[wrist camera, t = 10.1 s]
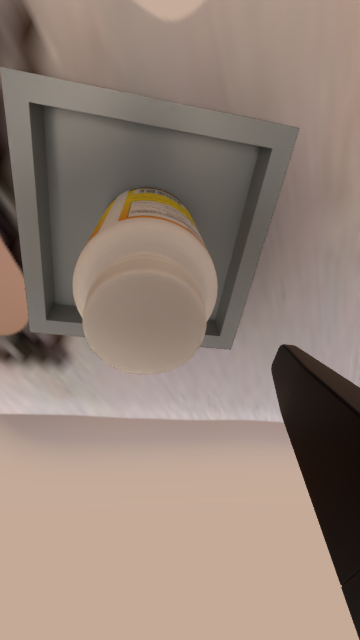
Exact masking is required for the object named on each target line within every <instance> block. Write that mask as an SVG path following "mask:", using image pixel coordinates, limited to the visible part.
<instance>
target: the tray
mask: <svg viewBox="0 0 360 640" xmlns="http://www.w3.org/2000/svg"><path fill="white" fill-rule="evenodd" d="M0 71H1V80H2V89H3V98H4V106H5V115H6V124H7V133H8V142H9V150H10V159H11V168H12V177H13V185H14V194H15V203H16V212H17V221H18V229H19V238H20V247H21V256H22V264H23V273H24V282H25V290H26V299H27V308H28V317H29V326H30V332H35V333H46V334H58V335H69V336H80V337H85V335H84V331H83V324H82V317H81V315H80V313H79V311H78V309H77V307H76V304H75V300H74V296H73V274H74V270H75V266H76V264H77V261H78V258H79V256H80V254H81V252H82V250H83V249H84V247H85V245H86V243H87V242H88V240H89V238H90V236H91V235H92V233H93V231H94V229H95V228H96V226H97V224H98V222H99V221H100V219H101V217H102V216H103V214H104V212H105V210H106V209H107V207H108V206H109V204H110V203H111V202H112V201H113V200H114V199H115V198H116V197H118V196H119V195H120V194H122V193H123V192H126V191H128V190H130V189H133V188H138V187H154V188H159V189H162V190H165V191H167V192H169V193H171V194H172V195H174V196H175V197H176V198H178V199H179V200H180V201H181V202H182V203H183V204H184V205H185V207H186V208H187V209H188V211H189V213H190V214H191V216H192V219H193V221H194V223H195V225H196V227H197V229H198V231H199V233H200V235H201V237H202V240H203V242H204V244H205V246H206V248H207V250H208V253H209V255H210V257H211V259H212V261H213V264H214V267H215V271H216V275H217V284H218V289H217V299H216V303H215V306H214V309H213V311H212V314H211V316H210V318H209V319H208V321H207V322H206V332H205V336H204V339H203V341H202V343H201V345H200V347H206V348H218V349H229V350H231V347H232V344H233V341H234V338H235V335H236V331H237V328H238V325H239V322H240V319H241V315H242V312H243V309H244V306H245V302H246V299H247V296H248V293H249V290H250V286H251V283H252V280H253V277H254V273H255V270H256V267H257V264H258V261H259V257H260V254H261V251H262V248H263V244H264V241H265V238H266V235H267V232H268V228H269V225H270V222H271V219H272V215H273V212H274V209H275V206H276V203H277V199H278V196H279V193H280V190H281V186H282V183H283V180H284V177H285V174H286V170H287V167H288V164H289V161H290V157H291V154H292V151H293V148H294V145H295V141H296V138H297V135H298V132H299V128H297V127H293V126H288V125H283V124H278V123H273V122H268V121H263V120H258V119H253V118H248V117H244V116H239V115H234V114H229V113H224V112H219V111H214V110H209V109H204V108H200V107H195V106H190V105H185V104H180V103H175V102H170V101H165V100H160V99H155V98H151V97H146V96H141V95H136V94H131V93H126V92H121V91H116V90H111V89H106V88H102V87H97V86H92V85H87V84H82V83H77V82H72V81H67V80H62V79H58V78H53V77H48V76H43V75H38V74H33V73H28V72H23V71H18V70H13V69H9V68H4V67H0Z"/></svg>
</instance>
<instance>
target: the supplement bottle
mask: <svg viewBox="0 0 360 640" xmlns="http://www.w3.org/2000/svg"><path fill="white" fill-rule="evenodd" d="M217 289H218V284H217V275H216V271H215V267H214V264H213V261H212V259H211V257H210V255H209V253H208V250H207V248H206V246H205V244H204V242H203V240H202V237H201V235H200V233H199V231H198V229H197V227H196V225H195V223H194V221H193V219H192V216H191V214H190V213H189V211H188V209H187V208H186V207H185V205H184V204H183V203H182V202H181V201H180V200H179V199H178V198H176V197H175V196H174V195H172V194H171V193H169V192H167V191H165V190H162V189H159V188H154V187H138V188H133V189H130V190H128V191H126V192H123V193H122V194H120V195H119V196H118V197H116V198H115V199H114V200H113V201H112V202H111V203H110V204H109V206H108V207H107V209H106V210H105V212H104V214H103V216H102V217H101V219H100V221H99V222H98V224H97V226H96V228H95V229H94V231H93V233H92V235H91V236H90V238H89V240H88V242H87V243H86V245H85V247H84V249H83V250H82V252H81V254H80V256H79V258H78V261H77V264H76V266H75V270H74V274H73V296H74V300H75V304H76V307H77V309H78V311H79V313H80V315H81V317H82V324H83V331H84V335H85V338H86V340H87V342H88V344H89V346H90V347H91V349H92V350H93V351H94V353H95V354H96V355H97V356H98V357H99V358H100V359H102V360H103V361H104V362H106V363H107V364H109V365H110V366H112V367H114V368H116V369H119V370H122V371H125V372H129V373H135V374H157V373H161V372H166V371H169V370H172V369H174V368H176V367H178V366H180V365H181V364H183V363H185V362H186V361H187V360H188V359H190V358H191V357H192V356H193V355H194V354H195V352H196V351H197V350H198V348H199V347H200V345H201V343H202V341H203V339H204V336H205V332H206V322H207V321H208V319H209V318H210V316H211V314H212V311H213V309H214V306H215V303H216V299H217Z"/></svg>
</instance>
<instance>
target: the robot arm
mask: <svg viewBox="0 0 360 640" xmlns="http://www.w3.org/2000/svg"><path fill="white" fill-rule="evenodd" d="M271 370H272V376H273V380H274V385H275V389H276V393H277V398H278V402H279V407H280V411H281V414H282V418H283V421H284V424H285V426H286V429H287V432H288V435H289V438H290V441H291V444H292V447H293V449H294V452H295V455H296V458H297V461H298V464H299V467H300V470H301V472H302V475H303V478H304V481H305V484H306V487H307V490H308V493H309V495H310V498H311V501H312V504H313V507H314V510H315V513H316V515H317V518H318V521H319V524H320V527H321V530H322V533H323V536H324V539H325V541H326V544H327V547H328V550H329V553H330V556H331V559H332V561H333V564H334V567H335V570H336V573H337V576H338V579H339V582H340V584H341V585H342V587H341V588H342V591H343V594H344V597H345V600H346V603H347V605H348V608H349V611H350V614H351V617H352V620H353V623H354V625H355V628H356V631H357V634H358V637H359V640H360V388H359V387H358V386H356V385H355V384H353V383H352V382H350V381H349V380H347V379H346V378H344V377H343V376H341V375H339V374H338V373H336V372H335V371H333V370H332V369H330V368H329V367H327V366H326V365H324V364H323V363H321V362H319V361H318V360H316V359H315V358H313V357H312V356H310V355H309V354H307V353H306V352H304V351H303V350H301V349H300V348H298V347H296V346H294V345H286V344H283V345H281V346H280V347H279V349H278V351H277V354H276V356H275V359H274V361H273V363H272V368H271Z"/></svg>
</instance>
